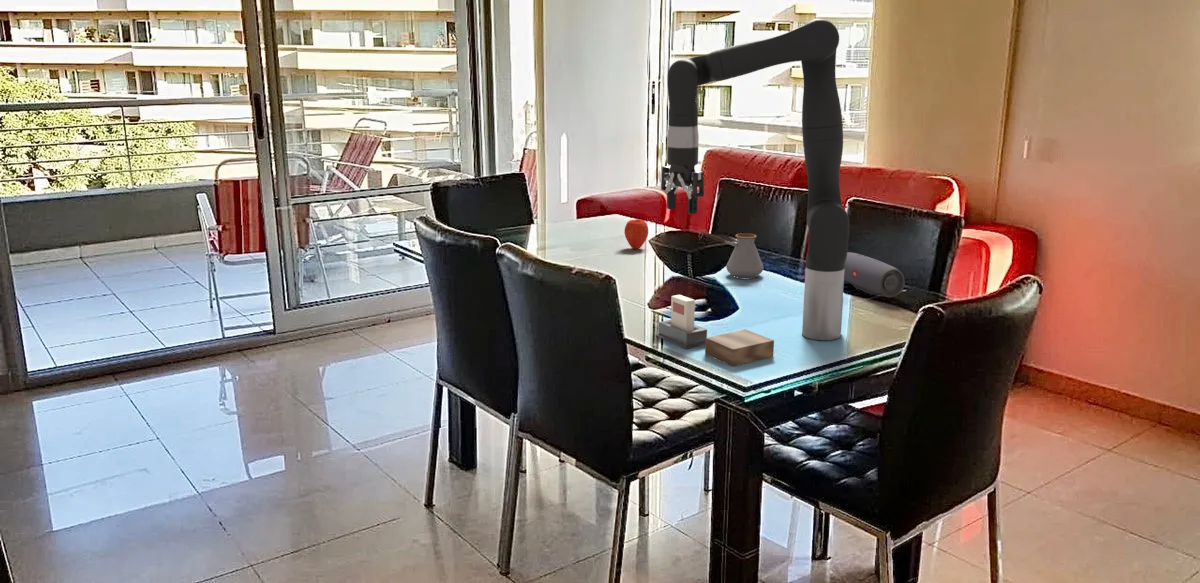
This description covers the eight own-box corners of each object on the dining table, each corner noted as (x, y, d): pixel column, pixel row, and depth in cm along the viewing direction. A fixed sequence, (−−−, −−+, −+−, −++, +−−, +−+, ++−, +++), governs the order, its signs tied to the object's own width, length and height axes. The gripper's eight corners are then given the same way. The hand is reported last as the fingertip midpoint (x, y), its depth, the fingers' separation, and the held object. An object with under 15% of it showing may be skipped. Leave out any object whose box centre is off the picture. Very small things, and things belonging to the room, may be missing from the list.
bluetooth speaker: (831, 284, 278) (833, 251, 275) (858, 281, 280) (861, 249, 278) (876, 303, 257) (879, 268, 254) (905, 300, 260) (907, 265, 257)
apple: (637, 252, 320) (637, 222, 318) (619, 249, 326) (619, 219, 323) (653, 248, 327) (653, 218, 324) (635, 245, 332) (635, 215, 329)
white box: (679, 333, 229) (679, 294, 226) (694, 339, 224) (694, 299, 222) (670, 335, 228) (671, 296, 225) (685, 341, 223) (686, 301, 220)
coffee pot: (752, 270, 295) (754, 224, 291) (769, 278, 284) (771, 230, 280) (690, 275, 288) (691, 228, 284) (705, 284, 278) (707, 235, 274)
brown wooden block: (744, 345, 222) (745, 329, 221) (773, 356, 213) (774, 340, 212) (705, 354, 216) (705, 337, 215) (732, 366, 207) (733, 349, 206)
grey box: (679, 331, 233) (679, 317, 232) (709, 344, 223) (710, 329, 222) (655, 335, 229) (655, 321, 228) (685, 349, 219) (685, 334, 218)
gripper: (713, 146, 219) (711, 214, 223) (677, 141, 231) (676, 205, 235) (688, 148, 215) (686, 217, 219) (653, 143, 227) (652, 208, 231)
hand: (681, 211), depth 227 cm, fingers open, 8 cm apart
